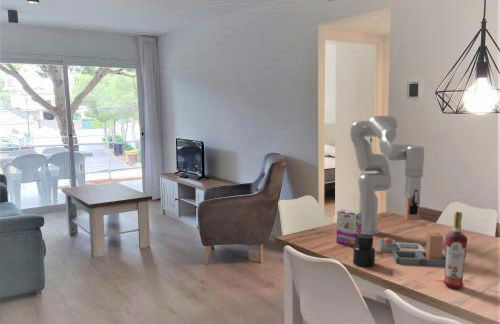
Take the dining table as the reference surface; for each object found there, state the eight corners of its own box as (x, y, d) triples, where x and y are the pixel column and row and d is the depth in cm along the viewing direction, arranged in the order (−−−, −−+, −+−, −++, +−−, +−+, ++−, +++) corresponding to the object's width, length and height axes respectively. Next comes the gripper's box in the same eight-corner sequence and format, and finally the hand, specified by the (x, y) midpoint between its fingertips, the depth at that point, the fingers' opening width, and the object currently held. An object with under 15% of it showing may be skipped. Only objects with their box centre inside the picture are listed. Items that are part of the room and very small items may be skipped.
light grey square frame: (399, 255, 191) (400, 249, 191) (395, 247, 202) (395, 242, 202) (425, 256, 190) (425, 251, 189) (419, 248, 200) (419, 243, 200)
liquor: (442, 288, 155) (447, 213, 152) (441, 281, 162) (446, 209, 159) (465, 291, 153) (470, 215, 149) (462, 284, 160) (468, 211, 156)
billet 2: (428, 263, 179) (430, 235, 177) (425, 259, 184) (427, 232, 182) (441, 264, 178) (442, 236, 177) (437, 259, 183) (439, 233, 182)
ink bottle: (379, 265, 179) (381, 237, 177) (365, 269, 174) (366, 240, 172) (362, 258, 187) (363, 231, 185) (347, 262, 182) (348, 235, 180)
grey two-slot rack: (396, 265, 178) (397, 258, 178) (392, 257, 188) (392, 250, 188) (449, 268, 175) (449, 260, 175) (441, 260, 185) (442, 253, 185)
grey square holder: (380, 252, 194) (381, 243, 194) (378, 248, 201) (378, 238, 201) (396, 253, 193) (397, 244, 193) (393, 248, 200) (394, 239, 200)
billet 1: (407, 219, 191) (408, 193, 190) (404, 217, 196) (405, 191, 195) (418, 220, 191) (420, 194, 189) (415, 217, 195) (417, 192, 194)
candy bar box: (361, 245, 204) (363, 212, 202) (356, 248, 201) (357, 214, 199) (341, 240, 212) (342, 208, 210) (335, 243, 208) (337, 210, 206)
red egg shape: (384, 248, 196) (385, 239, 195) (383, 246, 199) (384, 237, 198) (391, 249, 195) (391, 239, 195) (390, 247, 198) (390, 237, 198)
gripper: (401, 170, 200) (399, 208, 202) (409, 175, 183) (407, 217, 185) (417, 170, 199) (415, 208, 201) (428, 176, 182) (425, 217, 184)
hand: (411, 212), depth 193 cm, fingers closed on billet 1, 5 cm apart
